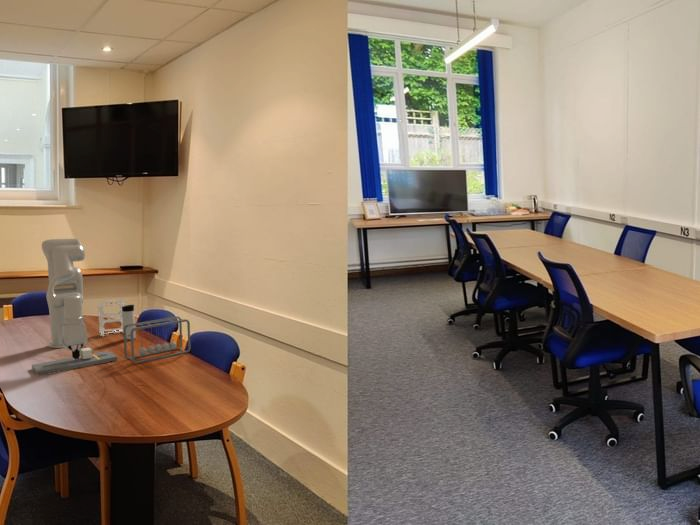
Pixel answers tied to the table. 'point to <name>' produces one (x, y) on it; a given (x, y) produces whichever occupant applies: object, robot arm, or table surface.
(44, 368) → the board
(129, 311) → the travel mug
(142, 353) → the newton's cradle
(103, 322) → the film strip holder
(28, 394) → the table surface
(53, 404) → the table surface
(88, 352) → the fader tab
